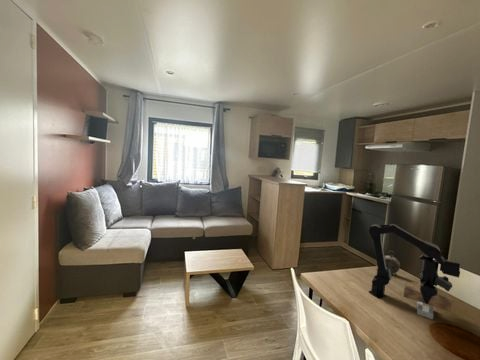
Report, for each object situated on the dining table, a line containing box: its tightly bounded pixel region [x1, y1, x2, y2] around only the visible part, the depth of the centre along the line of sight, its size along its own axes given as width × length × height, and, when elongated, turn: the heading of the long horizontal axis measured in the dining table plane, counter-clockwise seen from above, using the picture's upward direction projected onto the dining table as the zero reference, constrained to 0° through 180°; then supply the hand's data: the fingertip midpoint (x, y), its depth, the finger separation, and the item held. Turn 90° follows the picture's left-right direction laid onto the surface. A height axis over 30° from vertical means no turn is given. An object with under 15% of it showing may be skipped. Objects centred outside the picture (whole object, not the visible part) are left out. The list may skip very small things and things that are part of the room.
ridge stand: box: [416, 301, 435, 320], centre depth 112 cm, size 6×10×5 cm, turn 141°
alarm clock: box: [384, 250, 401, 276], centre depth 151 cm, size 11×5×16 cm, turn 46°
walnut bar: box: [403, 284, 453, 312], centre depth 112 cm, size 18×4×5 cm, turn 55°
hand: (426, 299), depth 112 cm, fingers open, 9 cm apart
